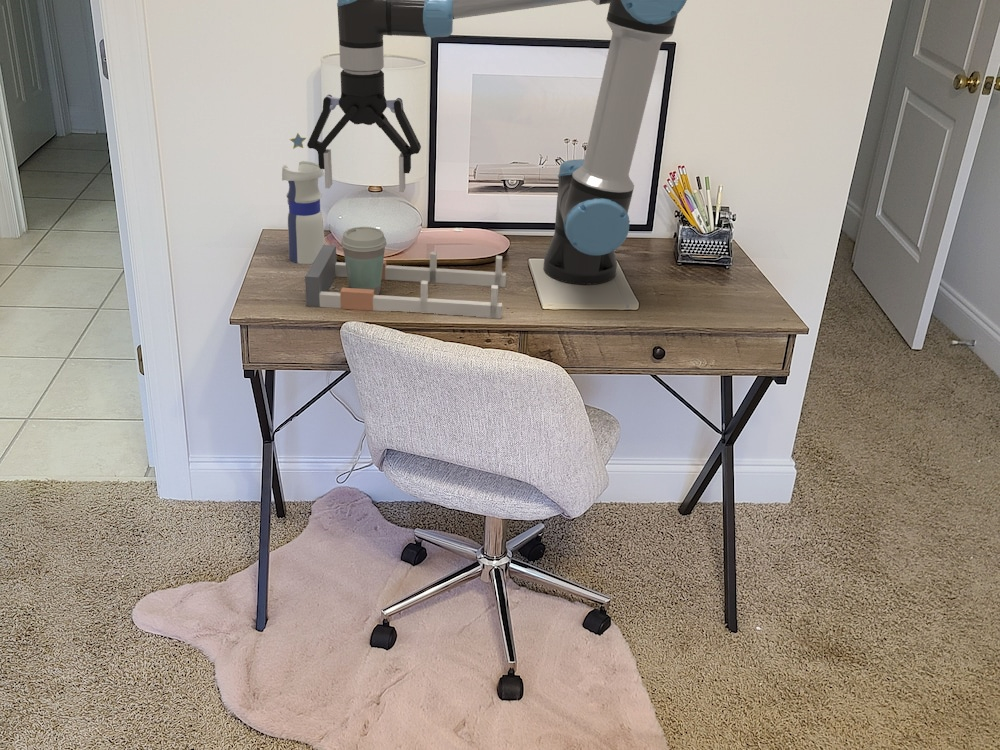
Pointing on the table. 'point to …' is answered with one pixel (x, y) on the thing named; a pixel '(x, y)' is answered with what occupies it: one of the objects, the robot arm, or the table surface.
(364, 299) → the comb channel
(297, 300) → the table surface
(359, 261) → the coffee cup
